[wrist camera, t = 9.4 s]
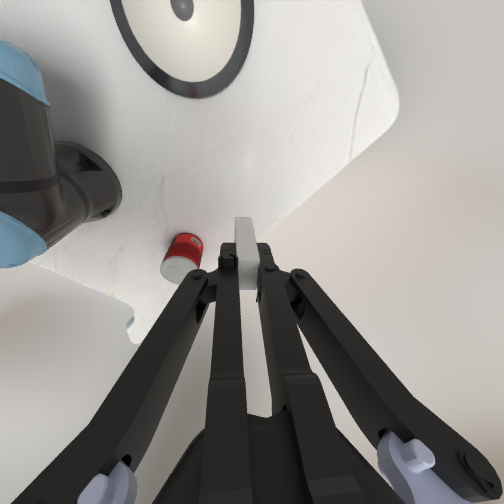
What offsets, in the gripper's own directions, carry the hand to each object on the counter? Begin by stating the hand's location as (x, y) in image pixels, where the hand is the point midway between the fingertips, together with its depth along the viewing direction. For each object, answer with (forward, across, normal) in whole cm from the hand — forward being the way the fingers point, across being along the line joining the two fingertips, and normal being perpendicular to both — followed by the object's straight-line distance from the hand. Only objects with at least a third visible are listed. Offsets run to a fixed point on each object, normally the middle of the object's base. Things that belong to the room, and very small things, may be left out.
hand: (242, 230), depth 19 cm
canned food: (+29, -12, -20) cm, 37 cm away
